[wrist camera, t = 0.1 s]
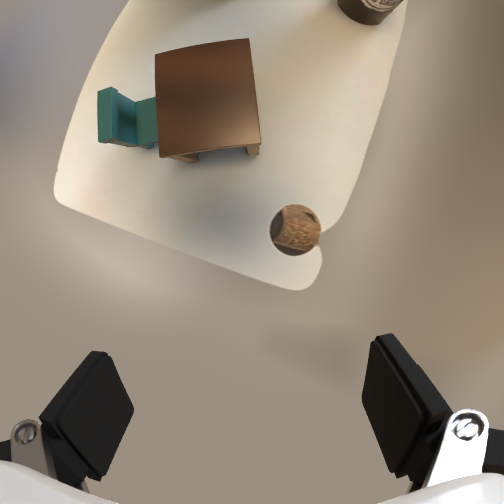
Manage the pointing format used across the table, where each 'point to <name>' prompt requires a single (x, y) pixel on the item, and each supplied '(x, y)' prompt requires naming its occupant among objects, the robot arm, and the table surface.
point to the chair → (126, 120)
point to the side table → (206, 100)
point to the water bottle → (368, 10)
